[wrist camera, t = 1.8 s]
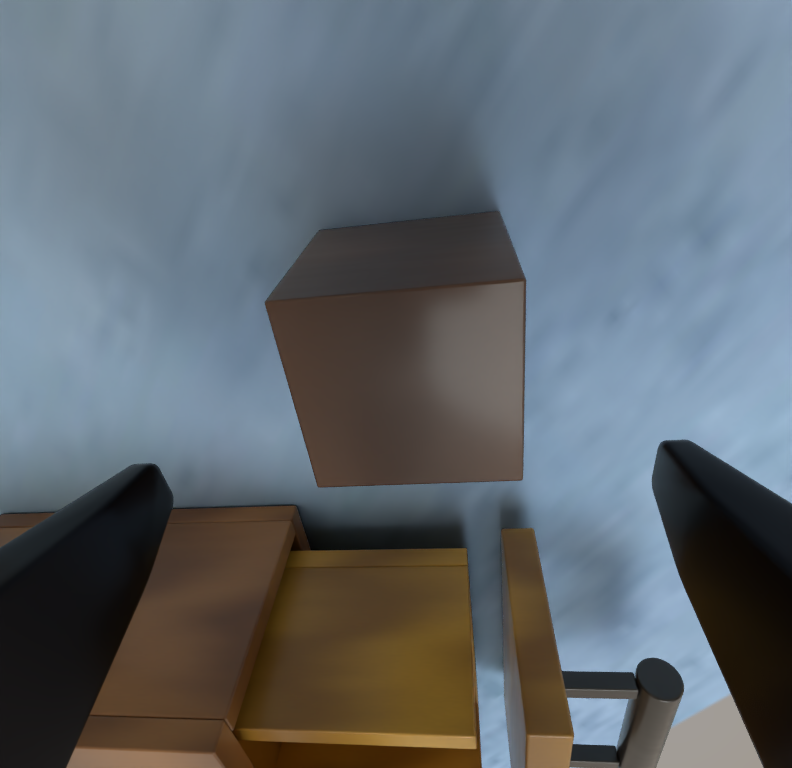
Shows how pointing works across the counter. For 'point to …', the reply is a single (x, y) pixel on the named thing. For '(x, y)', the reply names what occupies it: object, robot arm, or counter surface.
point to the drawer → (427, 669)
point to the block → (407, 351)
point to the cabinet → (188, 639)
